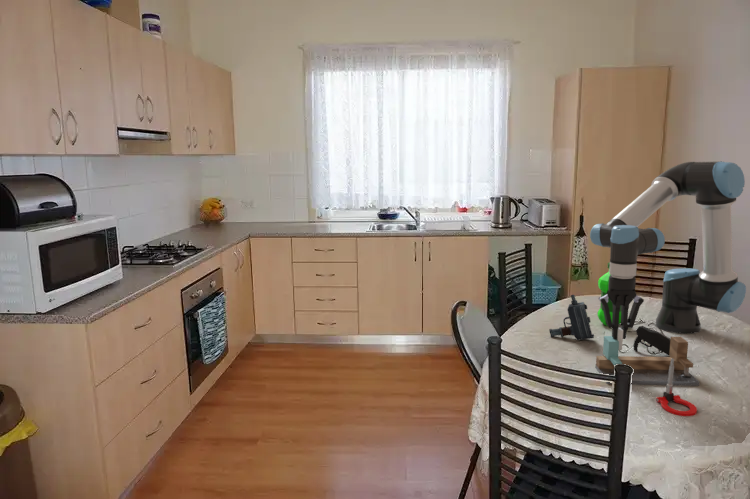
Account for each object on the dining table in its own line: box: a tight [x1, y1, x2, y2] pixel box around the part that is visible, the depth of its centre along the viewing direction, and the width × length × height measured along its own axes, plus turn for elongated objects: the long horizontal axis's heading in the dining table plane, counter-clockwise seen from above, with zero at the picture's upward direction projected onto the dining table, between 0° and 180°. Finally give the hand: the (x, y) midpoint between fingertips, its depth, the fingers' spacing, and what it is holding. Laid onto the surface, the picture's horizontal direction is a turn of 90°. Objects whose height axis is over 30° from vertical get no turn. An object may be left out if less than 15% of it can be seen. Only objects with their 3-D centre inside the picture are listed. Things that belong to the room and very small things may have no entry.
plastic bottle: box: [597, 261, 621, 327], centre depth 207 cm, size 10×10×25 cm
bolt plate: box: [595, 364, 700, 387], centre depth 162 cm, size 26×12×1 cm, turn 83°
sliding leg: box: [602, 335, 622, 365], centre depth 164 cm, size 3×10×9 cm, turn 173°
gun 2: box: [633, 325, 671, 357], centre depth 178 cm, size 3×16×10 cm, turn 58°
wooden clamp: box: [595, 336, 694, 376], centre depth 163 cm, size 26×10×9 cm, turn 83°
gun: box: [548, 294, 595, 341], centre depth 195 cm, size 3×17×15 cm
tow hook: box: [655, 358, 698, 417], centre depth 141 cm, size 8×13×9 cm
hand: (618, 348), depth 166 cm, fingers closed
